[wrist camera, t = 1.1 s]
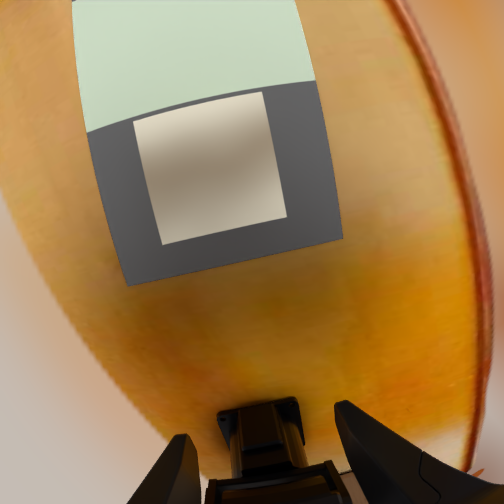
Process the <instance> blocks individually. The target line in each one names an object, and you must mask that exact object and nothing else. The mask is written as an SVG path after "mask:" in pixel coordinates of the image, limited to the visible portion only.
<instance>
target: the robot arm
mask: <svg viewBox="0 0 504 504" xmlns="http://www.w3.org/2000/svg"><path fill="white" fill-rule="evenodd" d="M291 403H293V404H291ZM334 412H335V423H336V426H337V429H338V432H339V435H340V439H341V442H342V445H343V448H344V451H345V454H346V457H347V460H348V463H349V465H350V467H351V469H352V471H353V473H354V475H355V477H356V479H357V481H358V483H359V485H360V487H361V490H362V492H363V494H364V496H365V498H366V500H367V502H368V504H504V485H503V484H494V483H490V482H487V481H484V480H482V479H479V478H477V477H474V476H472V475H469V474H467V473H465V472H462V471H460V470H458V469H455V468H453V467H451V466H449V465H447V464H445V463H443V462H441V461H439V460H438V459H436V458H434V457H432V456H431V455H429V454H428V453H426V452H425V451H423V452H422V450H421V449H420V448H418V447H417V446H415V445H413V444H412V443H410V442H409V441H407V440H406V439H404V438H403V437H401V436H400V435H398V434H397V433H395V432H394V431H392V430H391V429H389V428H388V427H386V426H385V425H383V424H382V423H380V422H379V421H377V420H376V419H374V418H373V417H371V416H370V415H368V414H367V413H365V412H364V411H363V410H361V409H360V408H358V407H357V406H355V405H354V404H353V403H351V402H350V401H348V400H343V401H339V402H336V403H335V404H334ZM222 417H224V418H222ZM217 422H218V424H219V427H220V429H221V431H222V434H223V436H224V438H225V440H226V443H227V445H228V447H229V449H230V454H231V469H232V479H222V480H217V479H209V483H208V488H206V494H205V503H204V504H353V502H352V499H351V497H350V494H349V492H348V490H347V488H346V486H345V485H344V483H343V481H342V479H341V477H340V475H339V473H338V471H337V469H336V468H335V466H334V464H333V462H332V460H328V461H324V463H321V464H316V465H312V466H309V465H308V461H307V458H306V454H305V451H304V447H303V446H304V445H305V440H304V434H303V428H302V422H301V416H300V410H299V404H298V401H297V399H296V398H287V399H283V400H279V401H274V402H270V403H265V404H261V405H256V406H251V407H246V408H241V409H235V410H230V411H224V412H220V413H218V414H217ZM127 504H201V485H200V476H199V466H198V456H197V450H196V448H195V446H194V444H193V442H192V440H191V438H190V436H189V435H188V434H177V435H175V436H174V437H173V438H172V440H171V441H170V443H169V444H168V445H167V447H166V449H165V450H164V451H163V453H162V454H161V456H160V457H159V459H158V460H157V461H156V463H155V464H154V466H153V467H152V469H151V470H150V471H149V473H148V474H147V476H146V477H145V479H144V480H143V481H142V483H141V484H140V486H139V487H138V489H137V490H136V491H135V493H134V494H133V496H132V497H131V498H130V500H129V501H128V503H127Z"/></svg>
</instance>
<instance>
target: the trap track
mask: <svg viewBox="0 0 504 504" xmlns="http://www.w3.org/2000/svg"><path fill="white" fill-rule="evenodd" d="M72 16H73V32H74V45H75V56H76V65H77V74H78V81H79V89H80V96H81V102H82V109H83V115H84V121H85V126H86V132H87V137H88V142H89V147H90V152H91V157H92V161H93V166H94V170H95V175H96V179H97V183H98V187H99V191H100V195H101V199H102V203H103V207H104V211H105V214H106V218H107V222H108V225H109V229H110V232H111V236H112V239H113V242H114V246H115V249H116V252H117V255H118V259H119V262H120V265H121V268H122V271H123V274H124V277H125V280H126V283H127V286H133V285H137V284H142V283H146V282H151V281H156V280H160V279H165V278H169V277H174V276H178V275H183V274H187V273H192V272H197V271H201V270H206V269H210V268H215V267H219V266H224V265H228V264H233V263H237V262H242V261H246V260H251V259H255V258H260V257H264V256H268V255H273V254H277V253H282V252H286V251H291V250H295V249H300V248H304V247H308V246H313V245H317V244H322V243H326V242H330V241H335V240H339V239H343V233H342V225H341V218H340V211H339V203H338V197H337V190H336V184H335V177H334V171H333V165H332V159H331V154H330V148H329V143H328V137H327V132H326V127H325V122H324V117H323V112H322V107H321V103H320V98H319V93H318V89H317V84H316V80H315V76H314V72H313V67H312V63H311V59H310V55H309V51H308V47H307V44H306V40H305V36H304V32H303V29H302V25H301V22H300V18H299V15H298V11H297V8H296V4H295V1H294V0H72ZM256 92H262V95H263V99H264V104H265V109H266V113H267V118H268V123H269V127H270V132H271V137H272V142H273V147H274V152H275V157H276V162H277V167H278V172H279V177H280V183H281V188H282V193H283V199H284V204H285V209H286V215H287V217H285V218H280V219H275V220H271V221H266V222H261V223H257V224H252V225H248V226H243V227H239V228H234V229H230V230H225V231H221V232H216V233H212V234H208V235H203V236H199V237H194V238H190V239H186V240H182V241H177V242H173V243H169V244H165V245H162V241H161V238H160V234H159V230H158V227H157V223H156V219H155V215H154V211H153V207H152V203H151V200H150V195H149V191H148V187H147V183H146V179H145V175H144V170H143V166H142V162H141V157H140V153H139V148H138V143H137V139H136V134H135V129H134V124H133V121H136V120H140V119H143V118H147V117H150V116H154V115H157V114H161V113H164V112H168V111H172V110H176V109H180V108H184V107H188V106H192V105H196V104H201V103H205V102H209V101H214V100H219V99H224V98H229V97H234V96H239V95H245V94H250V93H256Z"/></svg>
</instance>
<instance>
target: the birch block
mask: <svg viewBox="0 0 504 504" xmlns="http://www.w3.org/2000/svg"><path fill="white" fill-rule="evenodd" d="M133 124H134V129H135V134H136V139H137V143H138V148H139V153H140V157H141V162H142V166H143V170H144V175H145V179H146V183H147V187H148V191H149V195H150V200H151V203H152V207H153V211H154V215H155V219H156V223H157V227H158V230H159V234H160V238H161V241H162V245H165V244H169V243H173V242H177V241H182V240H186V239H190V238H194V237H199V236H203V235H208V234H212V233H216V232H221V231H225V230H230V229H234V228H239V227H243V226H248V225H252V224H257V223H261V222H266V221H271V220H275V219H280V218H285V217H287V215H286V209H285V204H284V199H283V193H282V188H281V183H280V177H279V172H278V167H277V162H276V157H275V152H274V147H273V142H272V137H271V132H270V127H269V123H268V118H267V113H266V109H265V104H264V99H263V95H262V92H256V93H250V94H245V95H239V96H234V97H229V98H224V99H219V100H214V101H209V102H205V103H201V104H196V105H192V106H188V107H184V108H180V109H176V110H172V111H168V112H164V113H161V114H157V115H154V116H150V117H147V118H143V119H140V120H136V121H133Z"/></svg>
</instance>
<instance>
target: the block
mask: <svg viewBox="0 0 504 504" xmlns="http://www.w3.org/2000/svg"><path fill="white" fill-rule="evenodd" d="M340 477H341V479H342V481H343V483H344V485H345V486H346V488H347V490H348V492H349V494H350V497H351V499H352V502H353V504H368V502H367V500H366V498H365V496H364V494H363V492H362V490H361V487H360V485H359V483H358V481H357V479H356V477H355V475H354V473H353V472H351V473H347V474H344V475H340Z"/></svg>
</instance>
